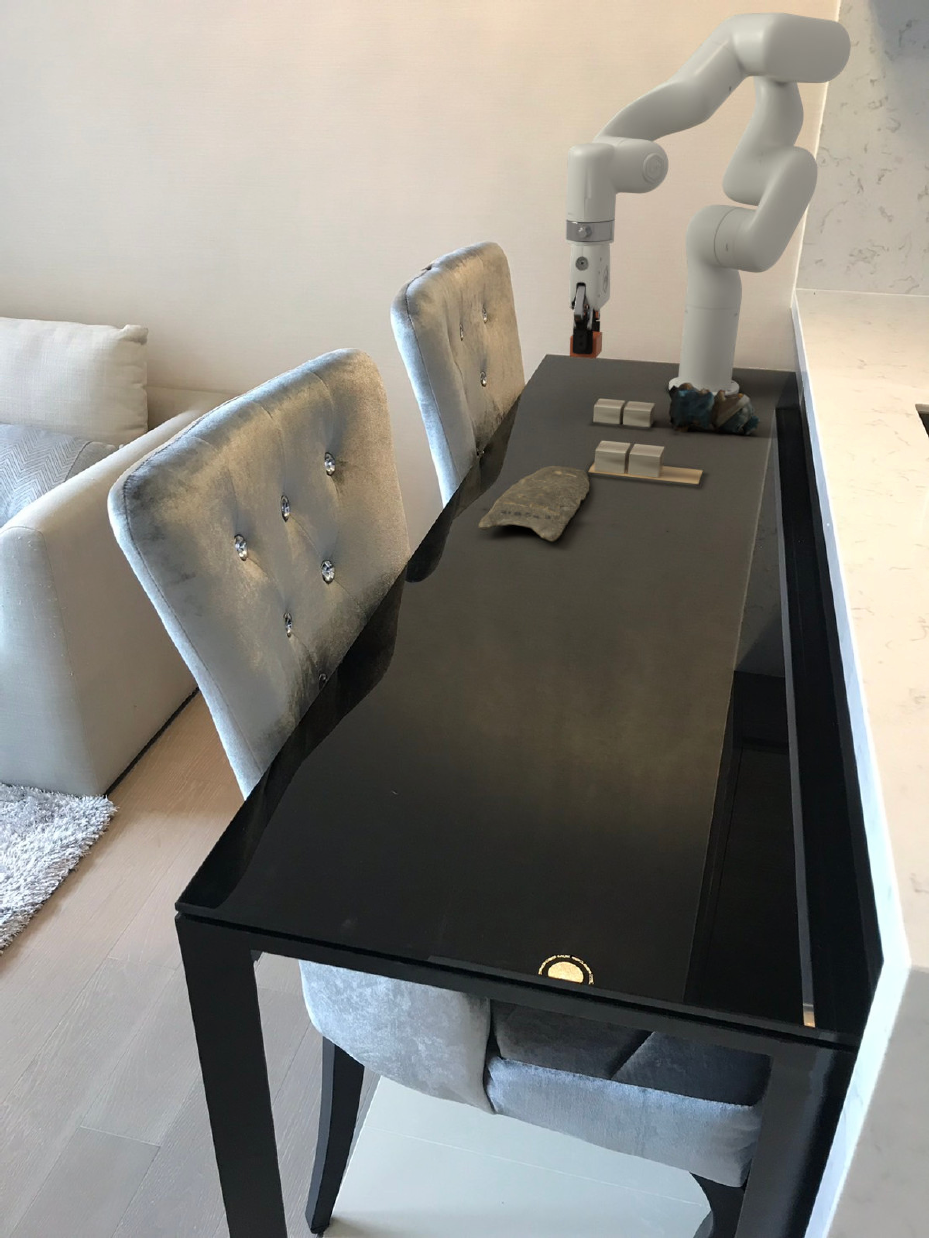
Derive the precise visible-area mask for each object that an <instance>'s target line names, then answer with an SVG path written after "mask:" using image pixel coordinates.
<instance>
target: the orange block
mask: <svg viewBox="0 0 929 1238" xmlns="http://www.w3.org/2000/svg"><path fill="white" fill-rule="evenodd" d="M572 350H573V334H572V335H571V336H569V357H571V358H586V359H597V358H598V356H599V355H600V354H601V353H602V350H603V332H602V331H600V332H593V351H592V353H591V354H590V355H589V354H574V353H573V351H572Z"/></svg>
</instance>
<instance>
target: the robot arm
mask: <svg viewBox="0 0 929 1238" xmlns="http://www.w3.org/2000/svg"><path fill="white" fill-rule="evenodd" d="M851 46H852V45H851V38H850V35H849V33H848V31H847V29H846V28H845V26H844V25H843V24H841V23H840V22H839V21H836V20H832V19H825V18H819V17H810V16H805V15H799V14H792V13H788V12H787V13H786V12H753V13H739V14H734V15H732V16H729V17H727V18H726V19H724V20H722V22H721V23H719V25H717V27H715V29H714V30H713V31H712V32H711V33H710V34H709V35H708V36H707V37H706V39H705V40H703V42H702V43H700V45H699V46H698V48H697V49H696V50H695V51H694V52H693V53H692V54H691V55H690V56H689V58H688V59H687V60H685V62H684V63H683V64H682V65H681V67H680V68H679V69H678V70H677V71H676V72H675V73H674V74H673V75H672V76H671V77H670V78H669V79H668V80H667V79H666V80H665V81H664V82H662V83H660V84H659V85H657V86H655V87H653V88H652V89H650V90H648V91H647V92H646V93H644V94H643V95H641V96H639V97H638V98H636V99H635V100H632V101H631V102H629V103H628V104H627V105H625V106H624V107H622V108H621V109H620V110H619V111H618V112H617V113H615V114H614V115H613V117H612V118H610V119H609V120H608V122H606V124H605V125H604V126H603V127H602V128H601V129H600V131H598V133H597V134H596V135H595V136H594V138H593V139H592V141H591V142H587V143H578V144H575V145H573V146H572V147H570V149H569V150H568V152H567V158H566V159H567V160H566V196H565V197H566V202H565V204H566V205H565V206H566V207H565V244H569V245H570V256H569V275H568V307H569V308H570V309H571V310H572V311H573V323H572V324H573V325H572V335H573V350H572V351H573V353H574V354H589V355H590V354H591V353H592V351H593V332H601V309H602V308H603V307H604V306H605V305H606V304H607V302H608V301H609V300H610V297H611V245H610V244H612V243H614V242H615V228H616V227H615V226H616V225H615V224H616V205H617V204H616V202H617V194H621V193H622V194H623V193H625V194H646V193H647V194H648V193H649V192H652V191H654V190H655V189H657V188H658V187H660V185H661V184H662V183H663V182H664V181H665V179H666V177H667V174H668V172H669V158H668V155H667V152H666V151H665V149H664V148H663V147H662V146H661V145H660V144H658V143H657V142H655V141H657V140H658V139H660V138H663V137H665V136H669V135H672V134H676V133H680V132H683V131H686V130H689V129H692V128H694V127H697V126H699V125H701V124H703V123H705V122H707V121H708V120H709V119H710V118H711V117H712V116H713V115H714V114H715V113H716V112H717V111H718V110H719V108H720V107H721V106H722V105H723V104H724V103H725V102H726V100H727V99H728V98H729V97H730V96H731V95H732V94H733V92H734V91H736V89H737V88H738V87H739V86H740V85H741V84H742V83H743V82H744V81H745V80H746V79H748V78H750V77H752V79H753V85H754V94H755V99H754V100H755V101H754V107H753V111H752V114H751V116H750V118H749V121H748V123H747V125H746V127H745V129H744V131H743V133H742V135H741V137H740V139H739V141H738V144H736V147H735V149H734V151H733V153H732V155H731V157H730V160H729V162H728V163H727V166H726V168H725V170H724V174H723V176H722V182H721V184H722V185H721V186H722V190H723V193H724V195H725V196H726V197H727V198H729V199H730V200H731V201H733V202H735V203H739V204H743V205H748V206H753V207H756V209H754V208H747V207H742V206H735V205H728V204H712V205H711V204H710V205H706V206H705V207H702V208H700V209H699V210H697V211H696V212H695V213H694V214H693V215H692V217H691V218H690V220H689V222H688V224H687V227H686V231H685V253H686V265H687V274H686V275H687V276H686V277H687V278H686V293H685V303H684V313H683V314H684V315H683V325H682V336H681V346H680V353H679V354H680V355H679V365H678V376H677V377H673V378H672V379H671V380H670V381H669V382H668V391H669V390H670V389H671V388H672V386H673V385H674V386H676V387H679V386H680V385H681V384H683V383H691V384H692V385H693V387H695V388H696V389H698V390H699V391H700V390H701V389H703V388H705V389H706V390H708V389H710V392H712V393H713V395H714V396H716V394H717V392H718V391H720V390H723V391H724V390H725V391H726V392H725V394H726V395H731V394H739V392H740V385H739V384H738V383H737V382H736V381H735V380H733V369H734V361H735V354H736V346H737V344H736V343H737V337H738V330H739V329H738V328H739V321H740V313H741V306H742V298H743V287H742V286H743V285H742V280H741V275H740V272H739V271H743V272H747V273H755V274H756V273H763V272H766V271H769V270H770V269H772V268H773V267H774V266H775V265H776V264H777V262H779V260H780V258H781V257H782V255H783V254H784V252H785V250H786V248H787V246H788V245H789V243H790V241H791V239H792V238H793V235H794V234H795V232H796V230H797V228H798V226H799V224H800V222H801V220H802V218H803V216H804V214H805V212H806V210H807V208H808V207H809V204H810V202H811V200H812V198H813V196H814V194H815V191H816V190H815V189H816V187H817V183H818V182H817V181H818V164H817V160H816V158H815V157H814V155H813V153H812V152H810V151H809V150H808V149H807V148H805V147H801V146H796V145H795V144H796V142H797V140H798V138H799V135H800V133H801V131H802V127H803V125H804V118H805V117H804V116H805V115H804V114H805V113H804V105H803V101H802V97H801V93H800V90H799V86H798V83H799V84H825V83H828V82H831V81H832V80H834V79H836V78H837V77H838V76H839V75H840V74H841V73H842V72H843V71H844V69H845V68H846V66H847V63H848V61H849V58H850V56H851V49H852V48H851Z"/></svg>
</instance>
